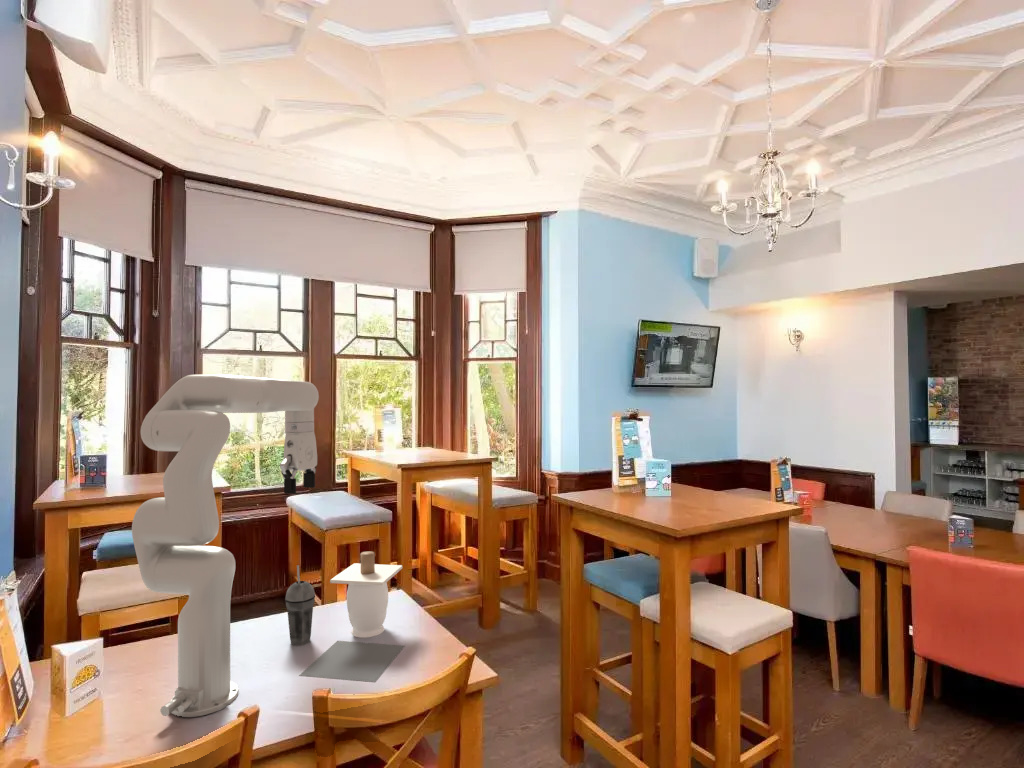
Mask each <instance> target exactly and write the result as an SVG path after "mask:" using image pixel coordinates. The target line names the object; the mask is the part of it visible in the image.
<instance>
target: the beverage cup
mask: <svg viewBox="0 0 1024 768" xmlns="http://www.w3.org/2000/svg"><path fill="white" fill-rule="evenodd" d="M296 572H297V573H296V574H297V581H295V582H294V583H292V584H291V585H290V586H289V587H288V588H287V590H286V594H285V597H284V602H285V606H286V610H287V617H288V622H287V623H288V629H289V640H290V645H292V646H295V647H297V646H304V645H307V644H309V643H310V642H311V635H312V626H313V625H312V624H313V613H314V605H315V599H316V592H315V589H314V587H313V585H312V584H311V583H310V582H308V581H305V580H301V579H300V578H301V577H300V565H296Z"/></svg>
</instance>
